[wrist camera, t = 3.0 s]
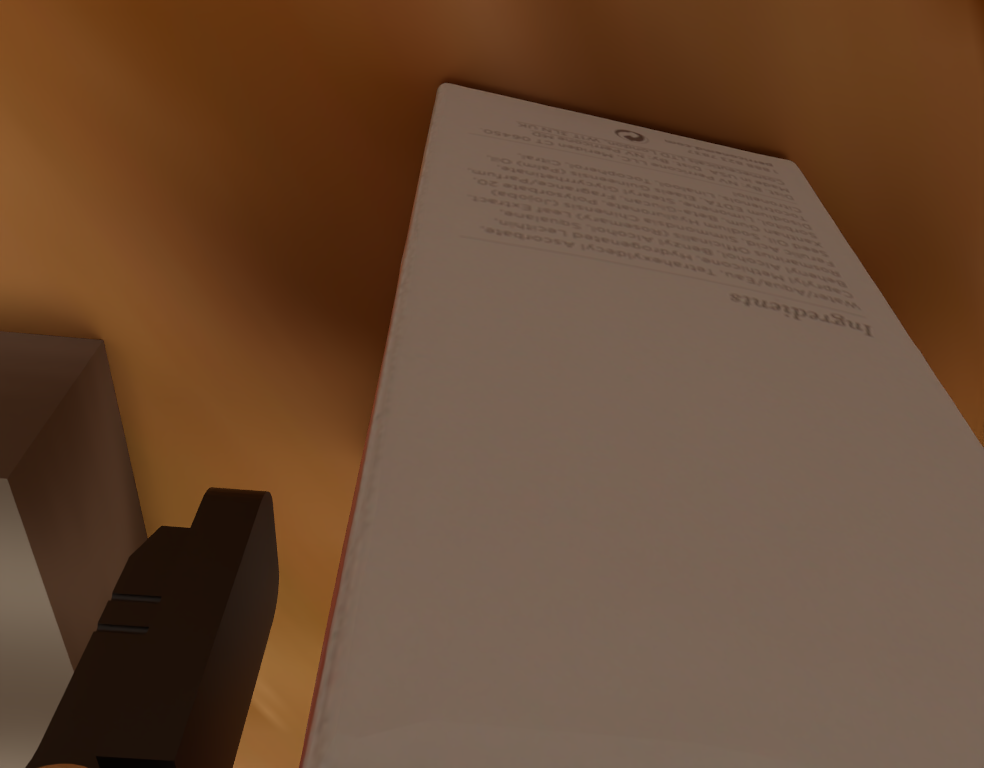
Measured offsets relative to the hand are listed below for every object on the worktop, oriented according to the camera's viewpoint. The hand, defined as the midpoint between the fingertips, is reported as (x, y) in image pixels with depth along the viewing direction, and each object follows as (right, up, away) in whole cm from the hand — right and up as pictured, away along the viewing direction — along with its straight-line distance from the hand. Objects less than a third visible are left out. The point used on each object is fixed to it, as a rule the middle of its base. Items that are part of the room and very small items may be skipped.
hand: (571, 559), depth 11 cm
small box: (0, +3, +4) cm, 5 cm away
